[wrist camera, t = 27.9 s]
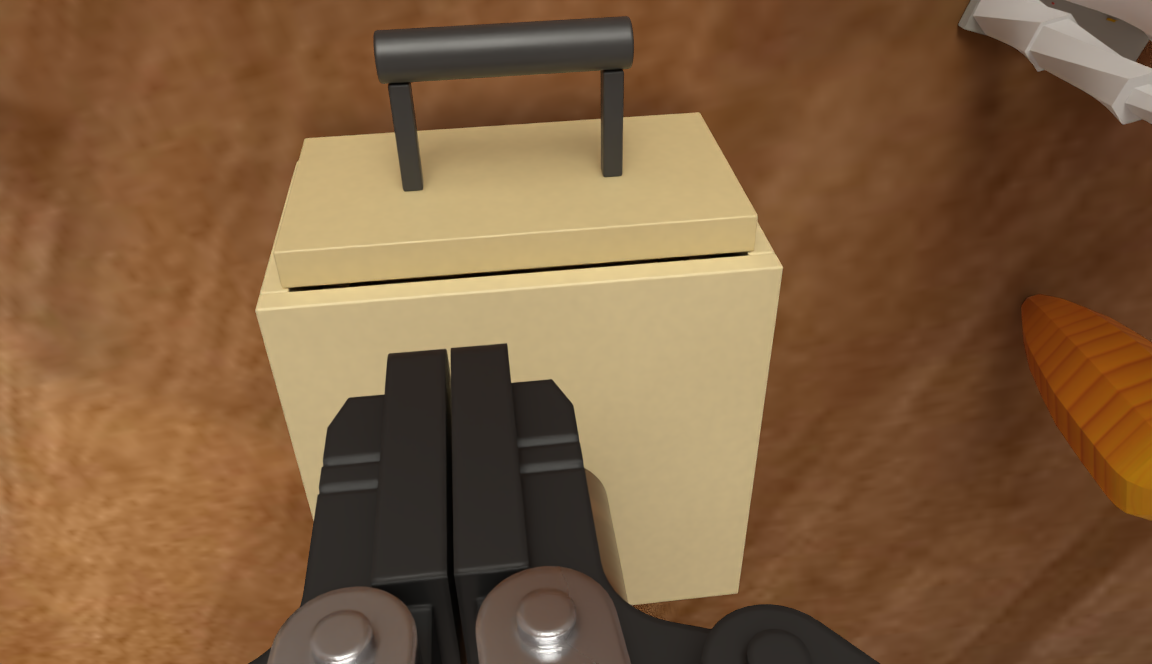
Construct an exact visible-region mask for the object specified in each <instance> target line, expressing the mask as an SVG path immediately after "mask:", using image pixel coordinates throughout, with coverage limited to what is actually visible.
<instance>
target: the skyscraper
mask: <svg viewBox="0 0 1152 664" xmlns="http://www.w3.org/2000/svg"><path fill="white" fill-rule="evenodd" d="M958 25H959V26H960V27H962V28H963V29H966V30H969V31H973V32H976V33H980V34H983V35H987V36H990V37H992V38H995V39H997V40H999V41H1001V42H1004V43H1006V44H1008V45H1010V46H1012V47H1014V48H1015V49H1017V50H1018V51H1020V52H1021V53H1022V54H1023V55H1025V56H1026V57H1027V58H1028V60H1029V61H1030V62H1031V63H1032V64H1033V66H1034V67H1035V68H1036V70H1037V71H1038V72H1039V71H1042V70H1046V71H1048V72H1050V73H1051V74H1053V75H1055V76H1057V77H1059V78H1061V79H1062V80H1064V81H1066V82H1068V83H1070V84H1072V85H1073V86H1075V87H1077V88H1079V89H1081V90H1083V91H1084V92H1086V93H1088V94H1089V95H1091V96H1093V97H1094V98H1095V99H1097V100H1098V101H1099V102H1101V103H1102V104H1103V105H1104V106H1105V107H1106V108H1108V109H1109V111H1110V112H1111V113H1112V114H1113V115H1114V116H1115V117H1116V118H1117V119H1118V120H1119V121H1120V122H1121V123H1122V125H1124V124H1127V123H1131V122H1135V121H1138V120H1142V119H1143V120H1145V121H1147V122H1149V123H1151V124H1152V68H1149V67H1147V66H1144V65H1142V64H1139V63H1137V62H1135V61H1136V60H1137V58H1138V57H1139V55H1140V54H1141V52H1142V50H1143V49H1144V47H1145V46H1146V44H1147V43H1148V41H1149V40H1151V41H1152V0H971V1H970V3H969V5H968V6H967V8H966V10H965V12H964V14H963V16H962V18H961V20H960V22H959V24H958Z"/></svg>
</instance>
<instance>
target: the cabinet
mask: <svg viewBox="0 0 1152 664" xmlns="http://www.w3.org/2000/svg"><path fill="white" fill-rule="evenodd" d="M297 165H298V161H297V163H296V167H295V171H294V173H293V177H292V180H291V184H290V187H289V191H288V195H287V198H286V202H285V205H284V209H283V212H282V216H281V220H280V223H279V227H278V230H277V234H276V237H275V241H274V245H273V248H272V252H271V255H270V259H269V262H268V266H267V270H266V273H265V277H264V280H263V284H262V287H261V291H260V295H259V299H258V302H257V306H256V310H255V312H256V315H257V319H258V322H259V326H260V330H261V333H262V337H263V340H264V344H265V348H266V351H267V355H268V358H269V362H270V366H271V369H272V373H273V376H274V380H275V384H276V387H277V391H278V394H279V398H280V402H281V405H282V409H283V412H284V416H285V420H286V423H287V427H288V430H289V434H290V438H291V441H292V445H293V448H294V452H295V456H296V459H297V463H298V466H299V470H300V474H301V477H302V481H303V484H304V488H305V492H306V495H307V499H308V502H309V506H310V510H311V513H312V517H313V520H314V516H315V509H316V503H317V496H318V494H319V482H320V475H321V468H322V467H323V454H324V447H325V440H326V433H327V427H328V426H329V425H330V423H331V422H332V420H333V419H334V418H335V416H336V415H337V413H338V412H339V411H340V409H341V408H342V406H343V405H344V403H345V402H346V401H347V399H348V398H350V397H361V396H373V395H384V394H385V381H386V367H387V357H388V354H389V353H401V352H412V351H424V350H436V349H446V350H447V354H448V360H449V367H450V375H451V348H456V347H468V346H479V345H491V344H502V343H507V345H508V355H509V365H510V376H511V383H515V382H526V381H537V380H548V379H552V380H553V381H554V382H555V383H556V384H557V386H558V387H559V388H560V389H561V391H562V392H563V393H564V394H565V395H566V397H567V398H568V399H569V400H570V401H571V403H572V404H573V406H574V411H575V417H576V423H577V428H578V434H579V442H580V445H581V451H582V456H583V464H584V468H586V469H587V470H589V471H590V472H592V473H593V474H594V475H595V476H596V477H597V478H598V479H599V480H600V481H601V483H602V484H603V486H604V488H605V490H606V493H607V497H608V502H609V508H610V513H611V518H612V523H613V528H614V533H615V538H616V543H617V548H618V553H619V558H620V563H621V568H622V573H623V578H624V583H625V588H626V593H627V598H628V603H629V604H630V605H638V604H647V603H656V602H665V601H674V600H683V599H692V598H701V597H710V596H719V595H728V594H736V593H738V589H739V582H740V574H741V567H742V560H743V553H744V545H745V538H746V531H747V524H748V517H749V509H750V502H751V495H752V488H753V480H754V473H755V466H756V459H757V452H758V444H759V437H760V430H761V423H762V416H763V408H764V401H765V394H766V387H767V379H768V372H769V365H770V358H771V351H772V343H773V336H774V329H775V322H776V314H777V307H778V300H779V293H780V286H781V278H782V271H783V267H782V265H781V263H780V261H779V259H778V257H777V256H776V254H775V253H774V251H773V249H772V247H771V245H770V243H769V242H768V240H767V238H766V236H765V234H764V233H763V231H762V229H761V227H760V225H759V224H758V222H757V229H756V238H755V246H754V251H748V252H736V253H723V254H711V255H710V257H711V258H710V259H697V260H685V261H672V262H660V263H647V264H635V265H622V266H610V267H597V268H585V269H572V270H559V271H547V272H534V273H522V274H509V275H497V276H484V277H472V278H459V279H447V280H434V281H421V282H409V283H396V284H384V285H371V286H359V287H346V288H334V289H323V288H324V285H320V286H308V287H295V288H282V287H281V283H280V279H279V275H278V271H277V267H276V263H275V259H274V255H273V251H274V248H275V244H276V241H277V237H278V233H279V230H280V226H281V222H282V219H283V215H284V212H285V208H286V204H287V201H288V197H289V194H290V190H291V186H292V183H293V179H294V176H295V172H296V168H297Z"/></svg>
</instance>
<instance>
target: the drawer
mask: <svg viewBox="0 0 1152 664" xmlns="http://www.w3.org/2000/svg"><path fill="white" fill-rule="evenodd" d="M374 55H375V63H376V69H377V75H378V78H379V81H380V83H382V84H387V83H389V84H388V90H389V97H390V104H391V111H392V117H393V124H394V131H395V133H380V134H364V135H349V136H334V137H319V138H306V139H304V143H303V147H302V150H301V154H300V157H299V161H298V165H297V168H296V172H295V176H294V179H293V183H292V186H291V190H290V194H289V197H288V201H287V204H286V208H285V212H284V215H283V219H282V222H281V226H280V230H279V233H278V237H277V241H276V244H275V248H274V251H273V255H274V259H275V263H276V267H277V271H278V275H279V279H280V283H281V287H282V288H295V287H308V286H320V285H324V288H323V289H334V288H346V287H359V286H371V285H384V284H396V283H409V282H421V281H434V280H447V279H459V278H472V277H484V276H497V275H509V274H522V273H534V272H547V271H559V270H572V269H585V268H597V267H610V266H622V265H635V264H647V263H660V262H672V261H685V260H697V259H710V258H711V257H710V255H711V254H723V253H736V252H748V251H754V246H755V238H756V229H757V220H758V215H757V213H756V212H755V210H754V208H753V206H752V204H751V203H750V201H749V199H748V197H747V196H746V194H745V192H744V190H743V188H742V187H741V185H740V183H739V181H738V180H737V178H736V176H735V174H734V173H733V171H732V169H731V167H730V165H729V164H728V162H727V160H726V158H725V157H724V155H723V153H722V151H721V149H720V148H719V146H718V144H717V142H716V141H715V139H714V137H713V135H712V134H711V132H710V130H709V128H708V126H707V125H706V123H705V121H704V119H703V118H702V116H701V114H700V113H699V112H698V113H683V114H668V115H652V116H637V117H623V99H624V72H623V70H622V69H629V68H631V66H632V63H633V55H634V39H633V29H632V24H631V21H630V18H629V17H627V16H623V17H606V18H588V19H570V20H553V21H535V22H517V23H500V24H482V25H464V26H447V27H429V28H411V29H394V30H377V31H375V32H374ZM599 70H601V119H592V120H577V121H561V122H546V123H531V124H516V125H501V126H486V127H471V128H455V129H440V130H425V131H417V127H416V119H415V112H414V104H413V96H412V89H411V82H420V81H436V80H452V79H469V78H485V77H501V76H517V75H534V74H550V73H566V72H583V71H599Z"/></svg>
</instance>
